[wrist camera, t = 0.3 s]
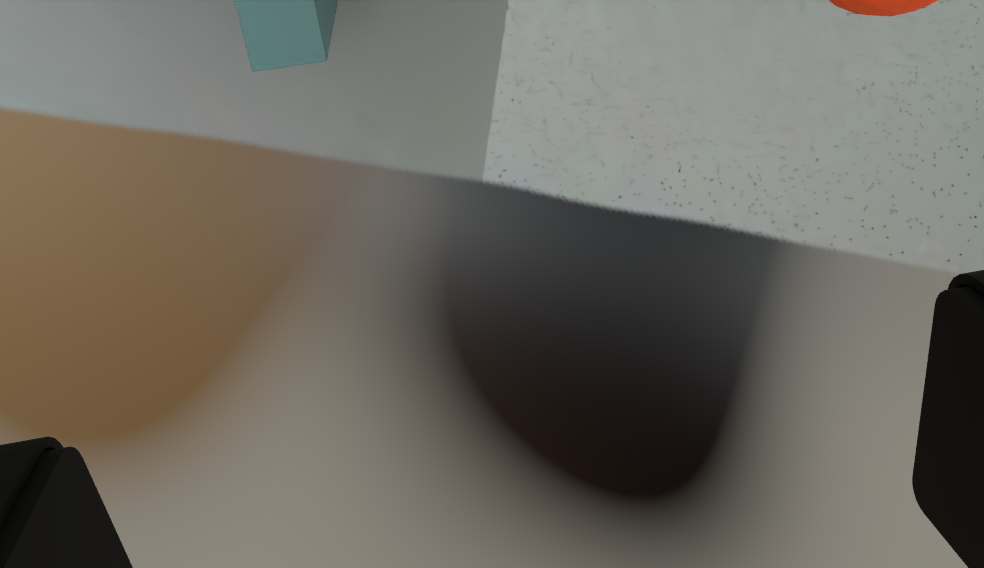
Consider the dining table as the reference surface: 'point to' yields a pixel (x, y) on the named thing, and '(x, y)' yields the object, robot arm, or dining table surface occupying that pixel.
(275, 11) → the domino
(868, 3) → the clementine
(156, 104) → the dining table surface
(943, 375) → the robot arm
